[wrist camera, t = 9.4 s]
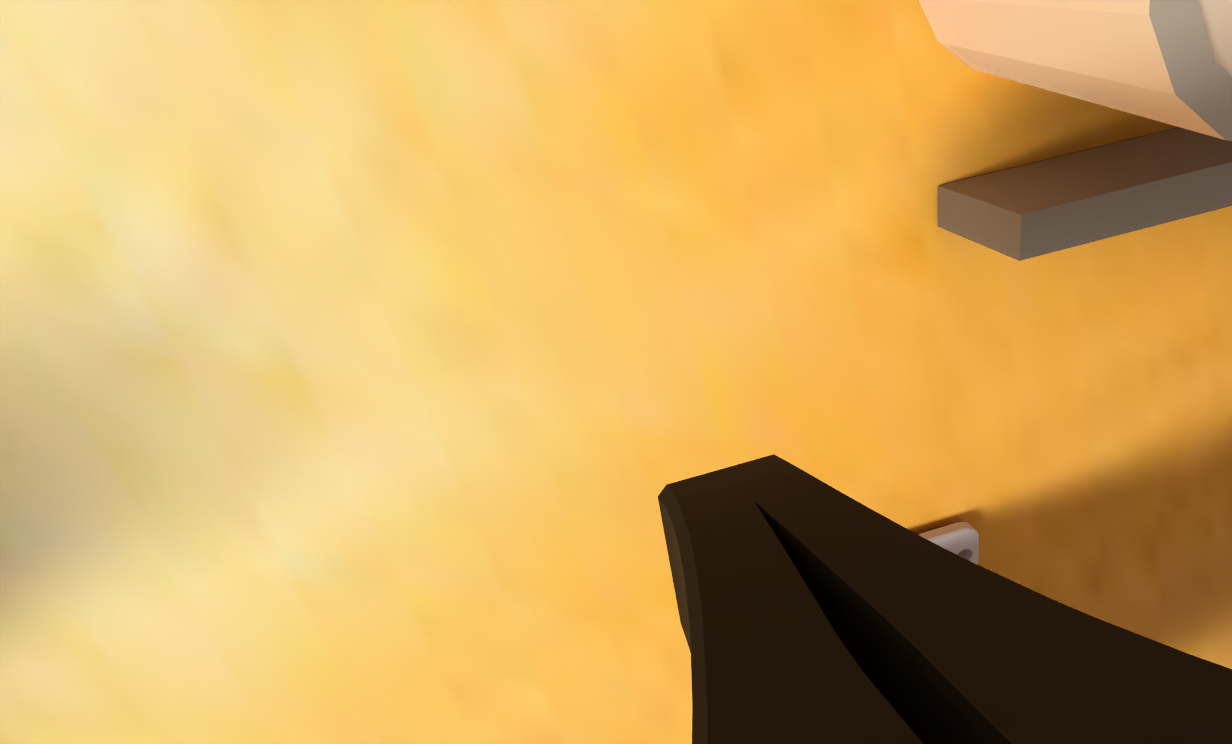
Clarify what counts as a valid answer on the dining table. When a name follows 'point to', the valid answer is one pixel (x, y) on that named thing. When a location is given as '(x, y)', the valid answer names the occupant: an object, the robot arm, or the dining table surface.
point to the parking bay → (1090, 193)
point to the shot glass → (1104, 52)
